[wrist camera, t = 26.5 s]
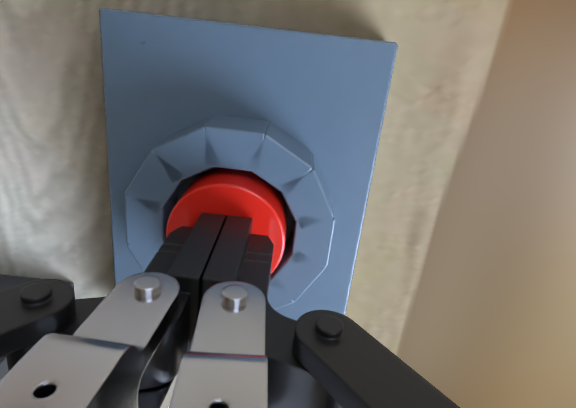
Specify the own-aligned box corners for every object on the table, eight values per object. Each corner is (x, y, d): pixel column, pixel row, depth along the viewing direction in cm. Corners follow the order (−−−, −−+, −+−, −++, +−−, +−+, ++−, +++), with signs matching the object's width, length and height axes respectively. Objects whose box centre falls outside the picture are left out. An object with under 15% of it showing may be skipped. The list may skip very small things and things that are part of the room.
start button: (181, 160, 14) (165, 177, 12) (292, 172, 14) (291, 191, 12) (180, 257, 15) (165, 285, 13) (281, 268, 15) (278, 297, 13)
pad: (120, 10, 14) (66, 3, 11) (388, 41, 14) (413, 44, 11) (132, 306, 19) (96, 365, 15) (334, 329, 19) (341, 391, 16)
